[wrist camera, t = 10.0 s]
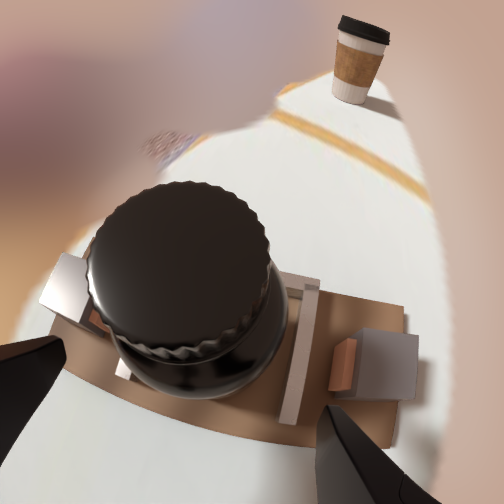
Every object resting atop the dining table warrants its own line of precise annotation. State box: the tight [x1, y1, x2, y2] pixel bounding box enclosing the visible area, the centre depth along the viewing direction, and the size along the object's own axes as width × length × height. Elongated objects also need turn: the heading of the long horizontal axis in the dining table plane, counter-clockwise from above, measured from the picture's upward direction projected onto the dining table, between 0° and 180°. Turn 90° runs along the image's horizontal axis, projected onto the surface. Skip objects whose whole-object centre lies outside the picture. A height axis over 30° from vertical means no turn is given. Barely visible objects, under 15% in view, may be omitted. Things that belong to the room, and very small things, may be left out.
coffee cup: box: [332, 15, 390, 105], centre depth 33 cm, size 8×8×15 cm
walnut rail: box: [39, 237, 419, 449], centre depth 16 cm, size 26×11×5 cm, turn 77°
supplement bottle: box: [85, 181, 289, 400], centre depth 11 cm, size 7×7×12 cm
